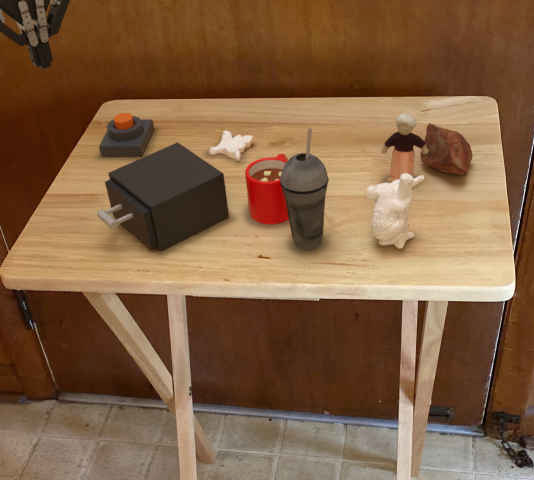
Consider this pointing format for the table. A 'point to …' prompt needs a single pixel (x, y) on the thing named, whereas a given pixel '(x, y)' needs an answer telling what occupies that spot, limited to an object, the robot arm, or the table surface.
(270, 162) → the mug
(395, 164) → the grandmother figurine
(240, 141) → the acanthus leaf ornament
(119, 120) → the button
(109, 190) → the drawer
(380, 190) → the white rabbit figurine
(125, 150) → the control block
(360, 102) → the table surface
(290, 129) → the table surface
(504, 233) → the table surface
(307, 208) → the beverage cup
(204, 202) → the cabinet
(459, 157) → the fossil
